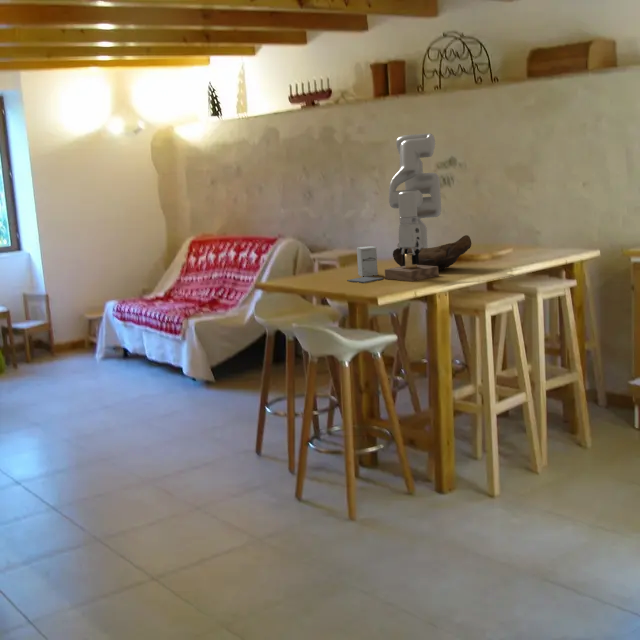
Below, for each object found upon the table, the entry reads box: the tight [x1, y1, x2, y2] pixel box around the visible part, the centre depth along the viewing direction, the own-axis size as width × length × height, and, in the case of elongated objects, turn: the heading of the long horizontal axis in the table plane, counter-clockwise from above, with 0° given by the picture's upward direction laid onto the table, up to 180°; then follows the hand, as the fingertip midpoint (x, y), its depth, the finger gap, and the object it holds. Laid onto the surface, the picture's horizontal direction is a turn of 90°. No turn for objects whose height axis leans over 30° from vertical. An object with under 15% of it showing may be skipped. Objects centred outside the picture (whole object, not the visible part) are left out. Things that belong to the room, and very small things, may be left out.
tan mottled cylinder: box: [405, 253, 417, 269], centre depth 350 cm, size 5×5×10 cm
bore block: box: [384, 265, 439, 282], centre depth 350 cm, size 16×16×4 cm
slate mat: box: [346, 276, 384, 284], centre depth 352 cm, size 11×11×1 cm
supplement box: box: [356, 245, 379, 277], centre depth 366 cm, size 7×7×13 cm
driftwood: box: [392, 234, 472, 271], centre depth 367 cm, size 37×18×15 cm, turn 44°
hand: (411, 263), depth 349 cm, fingers closed on tan mottled cylinder, 5 cm apart
